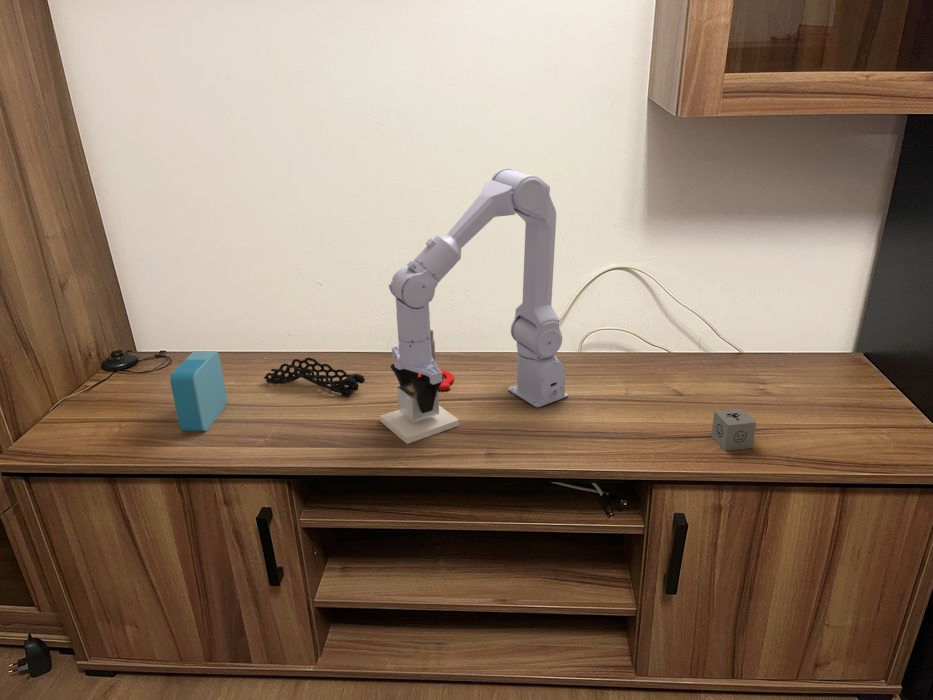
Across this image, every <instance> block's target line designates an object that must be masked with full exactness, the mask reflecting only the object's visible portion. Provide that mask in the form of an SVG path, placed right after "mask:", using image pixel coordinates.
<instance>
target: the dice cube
mask: <svg viewBox="0 0 933 700" xmlns="http://www.w3.org/2000/svg"><path fill="white" fill-rule="evenodd" d="M712 419H713V420H712V427H711V435H710V436H711V437H712V439H713V440H715V441H716V443H717V444H718V445H719V446H720V447H721V449H723V451H725V452H726V451H734V450H743V449H751V448H753V447H754V440H755V434H756V427H757V422H756V420H755V419H754V418H752V417H751V416H750V415H749V414H748V413H747V412H746V411H745V410H744V409H743V408H735V409H734V408H733V409H725V410H723V409H721V410H716V411H715V410H714V412H713V418H712Z"/></svg>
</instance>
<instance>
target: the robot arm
mask: <svg viewBox="0 0 933 700" xmlns="http://www.w3.org/2000/svg"><path fill="white" fill-rule="evenodd" d="M550 190H551V187H550V185H548V184H547V183H546V182H545V181H544V180H543V179H542V178H540V176H537V175H532V174H531V175H529V174H527V173H523V172H519V171H516V170H514V169H511V168H505V167H504V168H501V169H499V170H497V171H496V172H495V173H494V174H493V176H492V177H491V179H489V180H488V181H486V182H485V183H484V184H483V188H482V189H481V192H480V193H479V195H478V196H477V198H476V199H475V200H474V201H473V203H472V204H471V205H470V206H469V207H468V209H466V211H465V212H464V214H463V215H462V216H461V217H460V218H459V220H457V222H456V223H455V224H454V225H453V226H452V228H451V229H450V230H449V232H448V233H447V234H443V235H435V237H433V238H429V239H427V241H426V242H425V245H426V247H424V249H423V250H421V251H420V253H419V254H418V255H417V256H416V257H415V258H414V259H413V260H409V262H407V267H403V268H400V269H399V270H397V271H396V272H395V273H394V275H393V276H392V277H391V278H392V279H391V281H390V282H391V283H390V284H388V288H389V289H388V290H390V293H391V294H392V295H393V296H394V298H395V306H396V325H397V326H396V327H397V338H398V339H397V340H398V345H396V346H393V347H391V357H392V358H393V359H396V360H397V361H395V362H394V363H392V364H391V365H390V369H391V371H392V372H393V374H394V375H395V377H396V378H397V381H398V383H399V386H402V385H405V384H408V383H412V384H413V386H414V388H415V390H416V393H417V396H418V401H419V407H420V410H421V412H422V413H426V412H429V411H432V410H433V406H434V401H435V397H436V394H437V391H438V389H439V387H440V385H441V383H442V382H443V381H444V377H443V376H442V372H441V371H440V370H441V369H439V368H438V366H437V363H436V360H435V361H434V359H433V357H432V352H431V333H430V330H431V318H430V317H431V316H430V313H431V312H430V302H432V301H433V298H435V297H434V296H435V293H436V288H437V286H438V285H439V283H440V282H441V281H442V279H444V278H445V276H447V274H448V273H449V272H450V271H451V270H452V269H453V268H454V266H456V265H457V264H458V262H459V261H460V260H461V259H462V249H463V247H465V245H467V244H468V243H469V242H470V241H471V240H473V238H474V237H475V236H476V235H478V233H479V232H480V231H481V230H482V229H483V228H484V227H486V226H487V225H488V224H489V222H490V223H491V221H492V220H493V219H495V217H496V218H497V217H505V216H507V217H508V216H514V215H516V214H517V216H519V217H520V218H521V219H522V220H523V221H524V222H525V223H524V224H525V226H524V227H525V228H524V229H525V232H524V252H523V253H524V257H523V259H524V260H523V278H522V281H523V282H522V303H520V305H518V306H517V307H516V308H515V314H514V318H513V320H512V323H511V326H510V335H511V337H512V339H513V340H514V341H515V342H516V350H517V352H516V353H517V358H516V361H517V363H516V364H517V365H516V367H517V368H516V371H517V374H516V384H515V385H512V386H509V387H508V388H507V389H508V391H509V392H510V393H512V394H514V395H515V396H517V397H518V398H520V399H522V400H523V401H525V402H527V403H528V404H530V405H532V406H533V407H535V408H540V407H542V406H545V405H548V404H552V403H553V402H557V401H560V400H562V399H565V398H567V397H569V395H568V394H569V393H567V392H566V390H565V389H566V367H565V365H564V363H563V362H562V361H560V360H559V359H558V357H557V356H556V355H557V353H558V351H559V350H560V348H561V346H562V343H563V333H562V331H561V329H560V319H559V316H558V314H557V312H556V311H555V309H554V308H553V306H552V299H553V285H554V284H553V282H554V265H555V264H554V263H555V246H556V242H555V241H556V228H557V227H556V226H557V211H556V207H555V205H554V202H553V201H552V197H551V195H550V193H551V191H550ZM418 374H421V377H418ZM438 392H439V391H438Z"/></svg>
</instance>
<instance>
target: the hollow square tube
mask: <svg viewBox="0 0 933 700" xmlns="http://www.w3.org/2000/svg"><path fill="white" fill-rule="evenodd" d="M396 388H397V389H396V390H397V401H398V402H397V404H398V410H399V412H401V413H402V414H403V415H404V416H406V417H407V418H408V419H410V420H411V421H412V422H413V423H414V422H417V421H420V420H423V419H426V418H429V417H432V416H435V415H438V414H439V406H440V404H439V402H440V401H439V391H437V394H436V397H435V401H434V406H433V410H432V411H429V412H426V413H422V412H421V410H420V407H419V401H418V396H417V394H416V390H415V388H414V386H413V384H412V383H408V384H405V385H402V386H400V385H399V386H397V387H396Z"/></svg>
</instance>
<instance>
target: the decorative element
mask: <svg viewBox="0 0 933 700" xmlns="http://www.w3.org/2000/svg"><path fill="white" fill-rule="evenodd" d="M308 361H311V362H313V363H310V362H308ZM296 363H298V365H295V364H296ZM303 364H305V366H303ZM284 367H286V369H285V370H284V369H283V368H284ZM310 367H311V368H310ZM315 367H320V369H316V368H315ZM325 367H326V368H328V369H325ZM291 368H293V371H290V370H291ZM270 371H271V372H267V373H266V375H265V376H264V377H263V379H265V382H266V383H269V384H279V383H280V384H286V383H290V382H294V381H297V380H298V379H300V378H303V379H304V380H306V381H308V382H311V383H312V384H315V385H316V386H319V387H321V388H323V389H327V390H330V391H331V392H334V393H337V394H341V397H344V398H350V397H352V394H353V393H352V391H354V392H356V391H357V390H358V389H359V384H363V383H364V382H365V381H366V379H365V376H363V375H361V374H359V373H351V374H350V373H349V374H348V373H347V372H346V371H345V370H343V369H340V368H339V369H334V368H333V367H332V366H331V365H329V364H328V363H323V364H322V363H320V362H318V361H317V360H316V359H315V358H312V357H306V358H304V359H302V360H300V359H298V358H295V359H293V360H292V362H291V364H288V363H282V364H281V365H280V366H279V368H271V369H270ZM331 372H332V373H334V374H333V375H330V373H331ZM279 373H280V374H279ZM320 373H325V374H320ZM339 373H340V374H341V373H342V374H341V375H340V374H339ZM286 374H287V376H286ZM315 374H316V375H315ZM335 378H338V379H337V380H334V379H335ZM343 378H344V379H343ZM324 379H325V381H324ZM358 383H359V384H358Z"/></svg>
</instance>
